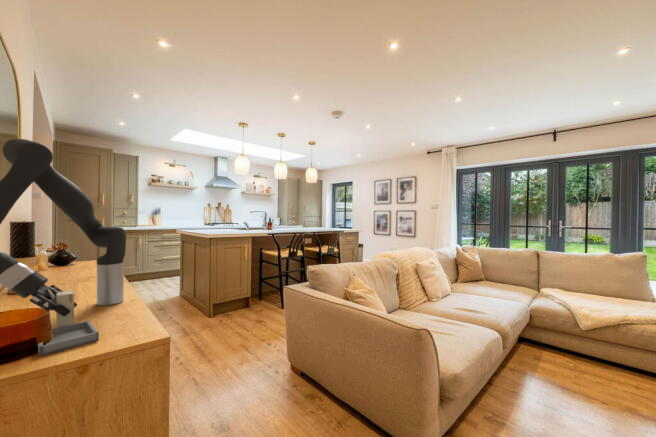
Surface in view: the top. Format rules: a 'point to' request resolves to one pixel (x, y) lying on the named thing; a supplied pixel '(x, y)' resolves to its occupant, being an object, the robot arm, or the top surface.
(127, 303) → the top surface
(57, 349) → the tray
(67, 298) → the skincare box
